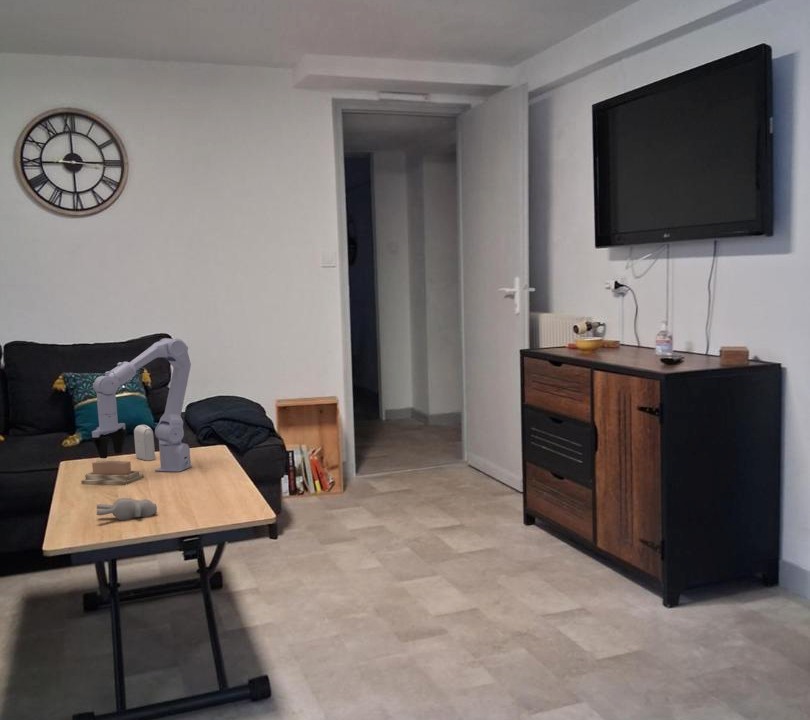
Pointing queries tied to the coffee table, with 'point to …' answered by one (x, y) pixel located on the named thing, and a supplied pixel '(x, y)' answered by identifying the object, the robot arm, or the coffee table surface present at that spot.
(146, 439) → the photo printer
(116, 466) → the clay strip
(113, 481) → the framed rectangular tray
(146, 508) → the bunny figurine
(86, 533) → the coffee table surface
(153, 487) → the coffee table surface
